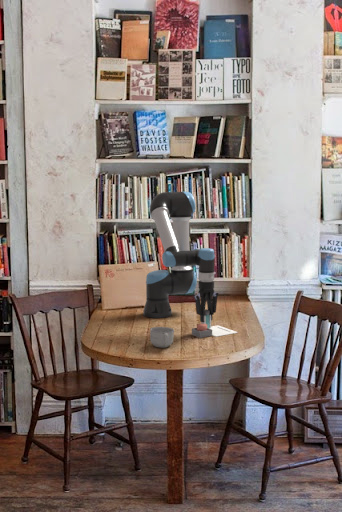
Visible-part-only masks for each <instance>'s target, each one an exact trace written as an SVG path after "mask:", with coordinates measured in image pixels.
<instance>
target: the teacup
mask: <svg viewBox="0 0 342 512" xmlns="http://www.w3.org/2000/svg"><path fill="white" fill-rule="evenodd" d="M174 333H175V329H174V328H173V327H167V326H155V327H151V328H150V329H149V336H150V337H149V338H150V343H151V345H153V346H154V347H155V348H161V349H163V348H168V347H170V346H171V345H173V343H174V336H175V335H174Z"/></svg>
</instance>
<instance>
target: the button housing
mask: <svg viewBox="0 0 342 512" xmlns="http://www.w3.org/2000/svg"><path fill="white" fill-rule="evenodd" d="M191 335H192V336H195V337H197V338H199V339H203V338H207V337H212V336H213V335H212V329H209V328H207V330H205V331H199V330H197V327H193V328H191Z"/></svg>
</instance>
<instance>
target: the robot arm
mask: <svg viewBox="0 0 342 512" xmlns="http://www.w3.org/2000/svg"><path fill="white" fill-rule="evenodd" d="M149 206H150V207H149V214H150V217H151V219H152V220H153V221H154V223H155V227H156V228H157V232H158V236H159V240H160V241H161V245H162V247H163V252H162V257H161V259H162V265H163V266H164V267H166V268H170V272H169V270H166V269H158V270H153V271H150V272H149V273H147V275H146V277H145V278H146V279H145V284H146V286H145V287H146V289H145V290H146V291H145V292H146V295H145V296H146V297H145V298H146V300H145V303H144V308H143V313H142V315H143V317H146V318H152V319H155V318H156V319H163V318H168V317H171V316H172V312H173V311H172V307H171V304H170V302H169V295H181V294H182V295H187V294H192V293H193V292H194V291H195V290H196V287H197V282H198V293H197V294H194V295H193V299H195V300H194V301H195V311H196V315H199V322H200V324H206V316H204V314H205V309H206V305H207V310H210V315H209V328H211V326H212V321H213V315H214V314H215V313H217V306H218V305H217V303H218V297H219V292H216V291H215V258H216V257H215V256H216V255H215V250H214V249H213V248H209V247H207V248H206V247H203V248H194V249H191V250H190V220H191V219H192V217H193V216H192V215H193V214H195V213H196V201H195V198H194V195H193V194H192V193H191V192H190V191H172V192H171V191H167V192H166V191H164V192H163V191H162V192H160V193H158V194H156V195H155V196H154V197H153V199H152V200H151V203H150V205H149ZM170 219H171V220H172V222H171V220H170ZM192 266H194V267H195V266H197V267H198V277H197V272H196V271H194V270H193V267H192ZM197 280H198V281H197Z"/></svg>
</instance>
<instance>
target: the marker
mask: <svg viewBox="0 0 342 512" xmlns="http://www.w3.org/2000/svg"><path fill="white" fill-rule="evenodd" d="M209 315H210V310H208V308H207V309H206V308H205V314H204V316H206V324H207V328H209Z"/></svg>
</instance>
